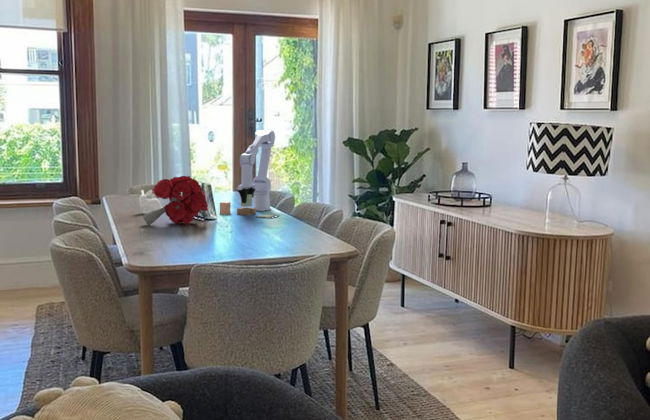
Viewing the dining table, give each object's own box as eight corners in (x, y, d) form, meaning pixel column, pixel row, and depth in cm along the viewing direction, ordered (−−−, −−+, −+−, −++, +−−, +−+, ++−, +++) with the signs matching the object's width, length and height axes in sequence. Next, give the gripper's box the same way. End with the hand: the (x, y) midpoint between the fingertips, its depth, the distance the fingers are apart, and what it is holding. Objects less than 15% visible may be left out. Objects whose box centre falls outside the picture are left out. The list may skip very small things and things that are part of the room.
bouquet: (161, 244, 287) (218, 209, 295) (133, 198, 281) (192, 164, 289) (155, 238, 307) (209, 206, 315) (129, 196, 301) (185, 164, 310)
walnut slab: (244, 213, 344) (244, 206, 344) (255, 214, 341) (255, 208, 341) (237, 214, 338) (237, 208, 337) (248, 216, 335) (248, 209, 334)
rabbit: (139, 214, 327) (139, 190, 326) (138, 211, 336) (138, 188, 334) (163, 214, 331) (163, 190, 329) (162, 211, 340) (162, 188, 338)
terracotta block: (223, 212, 342) (224, 201, 341) (230, 213, 340) (230, 202, 339) (219, 213, 338) (219, 202, 337) (226, 214, 336) (226, 203, 336)
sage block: (246, 205, 342) (246, 193, 341) (251, 205, 339) (252, 194, 338) (241, 205, 338) (241, 194, 337) (246, 206, 336) (246, 195, 335)
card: (265, 215, 338) (265, 213, 338) (279, 216, 335) (279, 215, 335) (255, 217, 329) (255, 216, 329) (269, 219, 326) (269, 217, 326)
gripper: (247, 175, 345) (247, 200, 347) (232, 177, 332) (232, 203, 334) (259, 176, 342) (258, 201, 344) (244, 178, 329) (244, 204, 331)
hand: (246, 202), depth 339 cm, fingers closed on sage block, 4 cm apart
